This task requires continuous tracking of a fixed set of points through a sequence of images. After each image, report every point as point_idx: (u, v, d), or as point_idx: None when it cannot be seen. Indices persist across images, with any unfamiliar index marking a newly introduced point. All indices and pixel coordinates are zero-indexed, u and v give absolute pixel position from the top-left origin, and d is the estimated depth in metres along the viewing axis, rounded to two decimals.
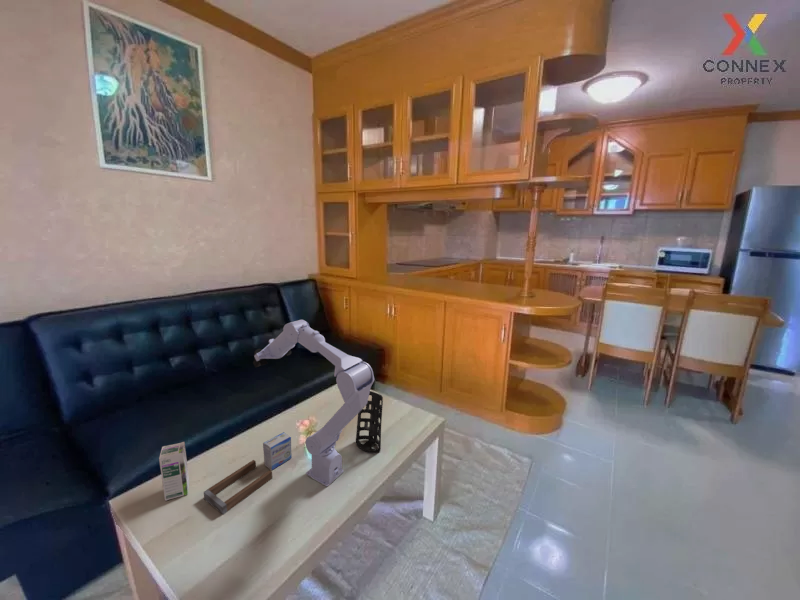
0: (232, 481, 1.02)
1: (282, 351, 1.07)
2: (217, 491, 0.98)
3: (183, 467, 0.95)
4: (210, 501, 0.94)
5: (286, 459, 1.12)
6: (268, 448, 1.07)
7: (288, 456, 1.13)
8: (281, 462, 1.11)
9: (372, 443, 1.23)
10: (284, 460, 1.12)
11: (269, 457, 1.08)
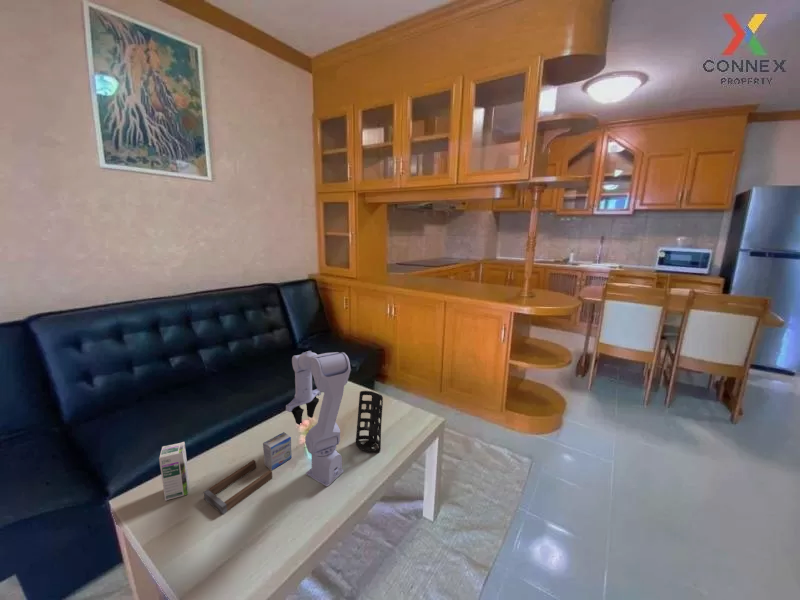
0: (232, 481, 1.02)
1: (305, 390, 1.15)
2: (217, 491, 0.98)
3: (183, 467, 0.95)
4: (210, 501, 0.94)
5: (286, 459, 1.12)
6: (268, 448, 1.07)
7: (288, 456, 1.13)
8: (281, 462, 1.11)
9: (372, 443, 1.23)
10: (284, 460, 1.12)
11: (269, 457, 1.08)
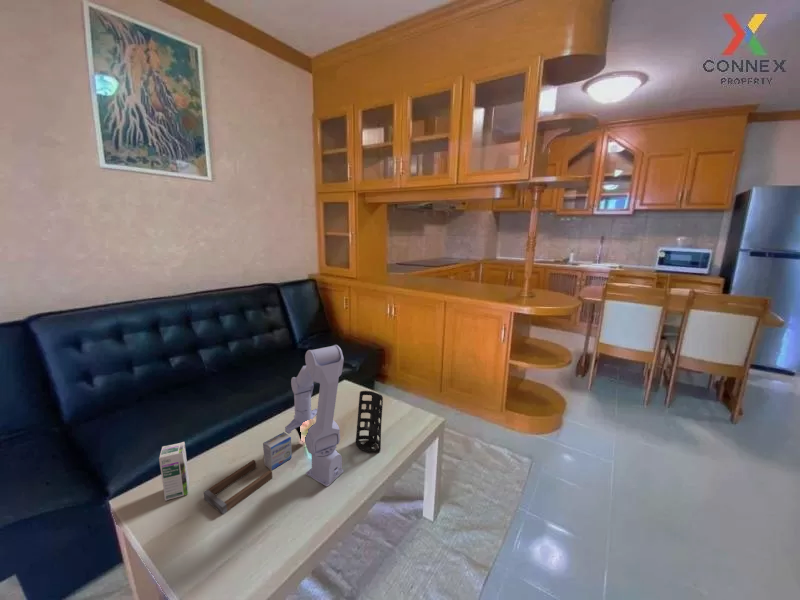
0: (232, 481, 1.02)
1: (304, 412, 1.16)
2: (217, 491, 0.98)
3: (183, 467, 0.95)
4: (210, 501, 0.94)
5: (286, 459, 1.12)
6: (268, 448, 1.07)
7: (288, 456, 1.13)
8: (281, 462, 1.11)
9: (372, 443, 1.23)
10: (284, 460, 1.12)
11: (269, 457, 1.08)
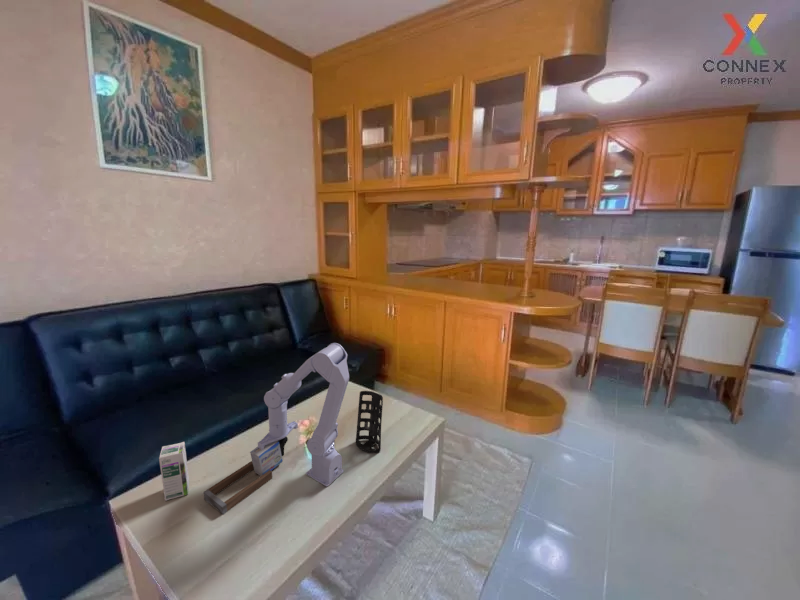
0: (232, 481, 1.02)
1: (279, 426, 1.07)
2: (217, 491, 0.98)
3: (183, 467, 0.95)
4: (210, 501, 0.94)
5: (277, 463, 1.09)
6: (256, 456, 1.03)
7: (279, 460, 1.10)
8: (272, 467, 1.08)
9: (372, 443, 1.23)
10: (275, 465, 1.08)
11: (258, 465, 1.04)
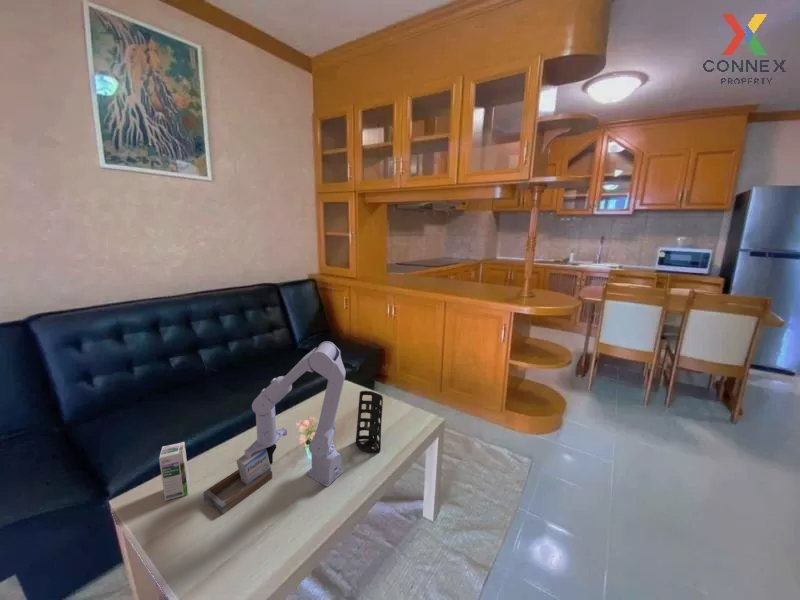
0: (232, 481, 1.02)
1: (267, 433, 1.04)
2: (217, 491, 0.98)
3: (183, 467, 0.95)
4: (210, 501, 0.94)
5: (265, 472, 1.05)
6: (242, 465, 0.99)
7: (267, 469, 1.06)
8: (259, 476, 1.04)
9: (372, 443, 1.23)
10: None
11: (245, 474, 1.00)
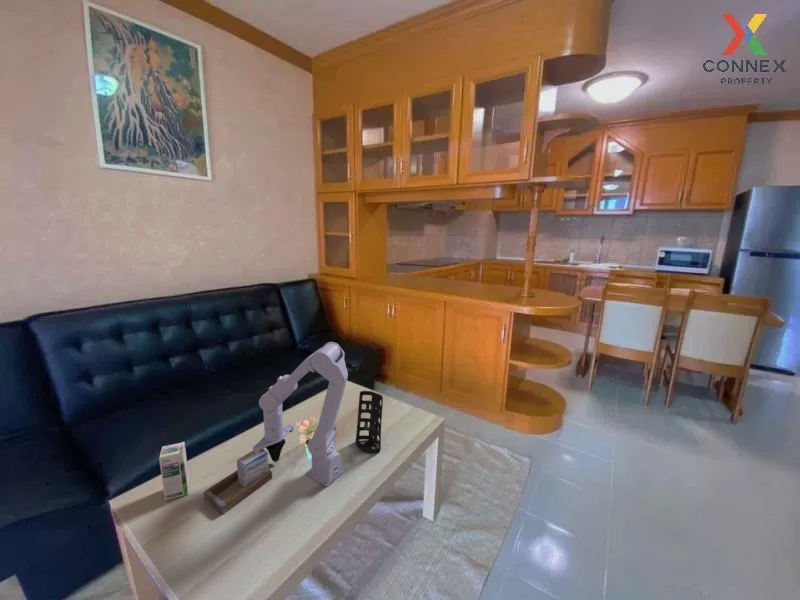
0: (232, 481, 1.02)
1: (274, 430, 1.06)
2: (217, 491, 0.98)
3: (183, 467, 0.95)
4: (210, 501, 0.94)
5: None
6: (242, 465, 0.99)
7: (265, 472, 1.05)
8: None
9: (372, 443, 1.23)
10: None
11: (244, 475, 1.00)
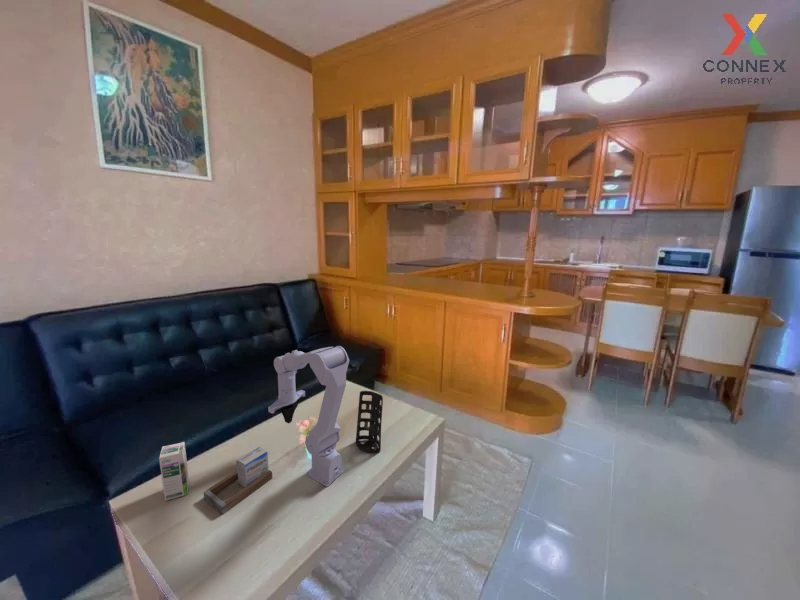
0: (232, 481, 1.02)
1: (288, 392, 1.14)
2: (217, 491, 0.98)
3: (183, 467, 0.95)
4: (210, 501, 0.94)
5: None
6: (242, 465, 0.99)
7: (265, 472, 1.05)
8: None
9: (372, 443, 1.23)
10: None
11: (244, 475, 1.00)
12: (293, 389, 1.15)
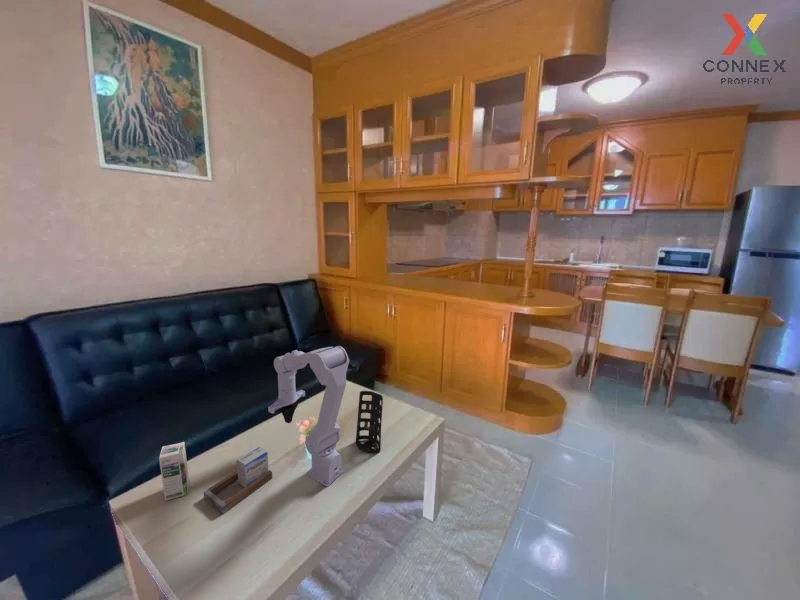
0: (232, 481, 1.02)
1: (288, 392, 1.14)
2: (217, 491, 0.98)
3: (183, 467, 0.95)
4: (210, 501, 0.94)
5: None
6: (242, 465, 0.99)
7: (265, 472, 1.05)
8: None
9: (372, 443, 1.23)
10: None
11: (244, 475, 1.00)
12: (293, 389, 1.15)
